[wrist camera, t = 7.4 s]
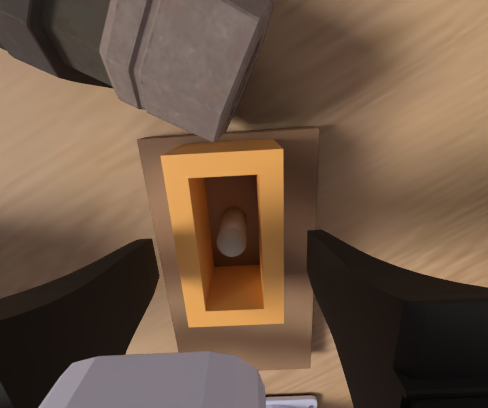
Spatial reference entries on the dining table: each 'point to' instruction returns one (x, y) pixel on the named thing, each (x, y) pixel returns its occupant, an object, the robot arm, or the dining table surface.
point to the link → (199, 237)
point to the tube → (146, 51)
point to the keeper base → (244, 246)
